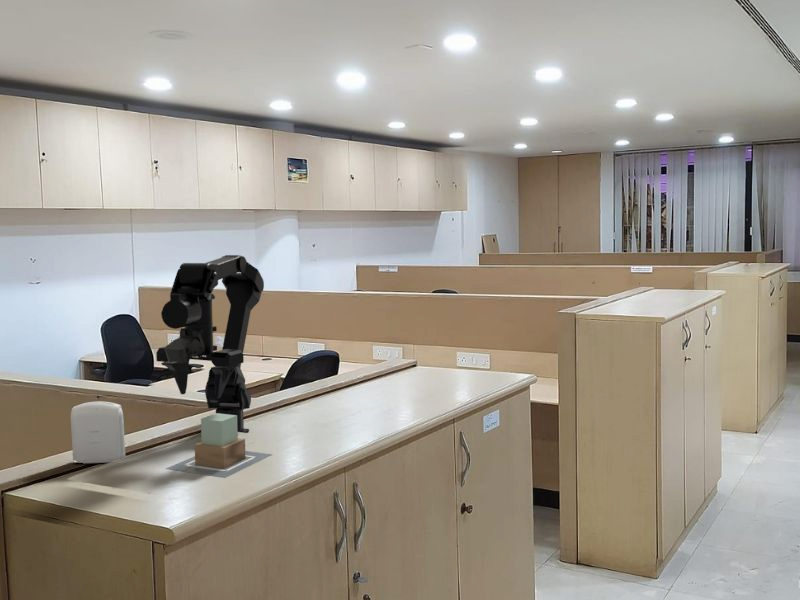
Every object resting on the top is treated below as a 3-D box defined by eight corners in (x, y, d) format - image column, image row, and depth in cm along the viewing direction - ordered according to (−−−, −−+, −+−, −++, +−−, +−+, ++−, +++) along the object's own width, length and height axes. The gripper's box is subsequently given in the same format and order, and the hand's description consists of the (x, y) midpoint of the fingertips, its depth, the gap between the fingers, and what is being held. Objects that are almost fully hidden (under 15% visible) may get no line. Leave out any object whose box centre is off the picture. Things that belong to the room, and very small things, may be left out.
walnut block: (217, 454, 159) (216, 435, 159) (245, 458, 156) (245, 439, 156) (195, 464, 153) (194, 444, 152) (224, 468, 150) (223, 448, 150)
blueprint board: (216, 451, 165) (216, 446, 165) (272, 459, 159) (272, 453, 159) (165, 473, 150) (165, 468, 150) (225, 482, 145) (225, 477, 145)
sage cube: (217, 437, 158) (216, 413, 157) (237, 439, 156) (237, 415, 155) (201, 443, 153) (200, 418, 152) (222, 446, 151) (221, 421, 150)
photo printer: (69, 465, 156) (67, 405, 155) (76, 459, 160) (73, 400, 159) (122, 463, 157) (120, 403, 156) (127, 457, 161) (125, 399, 160)
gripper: (136, 325, 159) (139, 399, 160) (210, 329, 151) (213, 408, 153) (172, 319, 169) (175, 389, 171) (244, 323, 162) (246, 396, 163)
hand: (200, 395), depth 164 cm, fingers open, 9 cm apart
